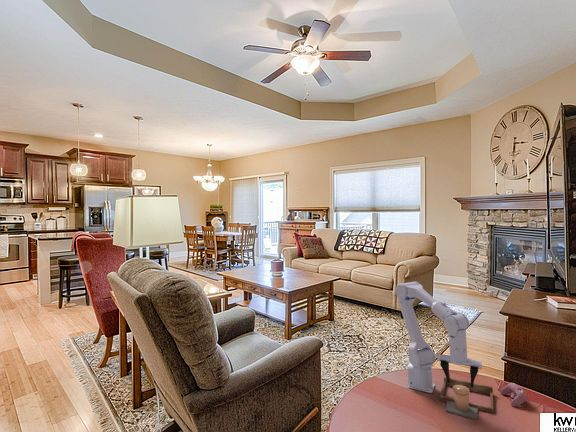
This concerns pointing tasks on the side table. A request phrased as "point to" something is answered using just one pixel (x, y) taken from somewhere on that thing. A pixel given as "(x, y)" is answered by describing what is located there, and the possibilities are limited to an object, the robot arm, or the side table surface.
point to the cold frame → (475, 388)
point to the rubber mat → (470, 414)
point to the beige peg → (461, 397)
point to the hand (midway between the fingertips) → (460, 383)
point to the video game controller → (514, 393)
